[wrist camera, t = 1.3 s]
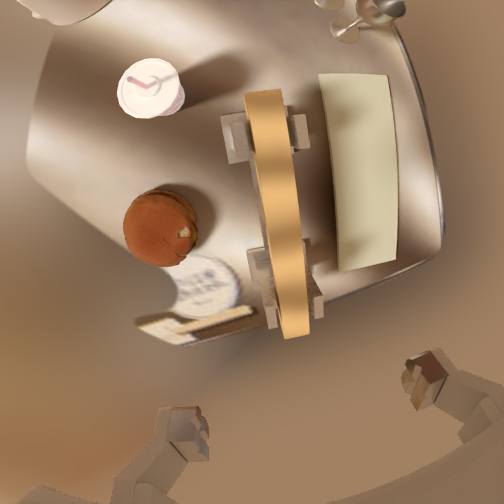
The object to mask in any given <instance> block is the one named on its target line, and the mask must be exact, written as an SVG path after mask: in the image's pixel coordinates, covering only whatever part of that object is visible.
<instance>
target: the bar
mask: <svg viewBox="0 0 504 504" xmlns="http://www.w3.org/2000/svg"><path fill="white" fill-rule="evenodd" d="M243 99H244V104H245V109H246V115H247V121H248V126H249V132H250V137H251V143H252V149H253V155H254V160H255V166H256V172H257V178H258V184H259V190H260V196H261V202H262V208H263V214H264V220H265V226H266V233H267V239H268V245H269V252H270V258H271V265H272V271H273V278H274V284H275V291H276V298H277V304H278V311H279V318H280V324H281V328H282V332H283V335H284V339H288V338H293V337H298V336H302V335H307V334H309V333H310V332H309V316H308V301H307V288H306V276H305V264H304V254H303V243H302V234H301V224H300V216H299V207H298V199H297V191H296V183H295V175H294V168H293V161H292V154H291V147H290V141H289V134H288V128H287V122H286V115H285V110H284V104H283V98H282V92H281V89H273V90H264V91H257V92H249V93H245V95H244V97H243Z"/></svg>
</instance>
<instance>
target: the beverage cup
mask: <svg viewBox="0 0 504 504" xmlns="http://www.w3.org/2000/svg"><path fill="white" fill-rule="evenodd" d="M117 96H118V100H119V104H120V106H121V107H122V108H123V110H124V111H125V112H126V113H127V114H129V115H131V116H133V117H135V118H152V117H155V116H162V115H170V114H173V113H175V112H176V111H178V110H179V109H180V108H181V106H182V105H183V103H184V98H185V94H184V89H183V88H182V86H181V84H180V81H179V76H178V73H177V72H176V70H175V69H174V68H173V67H172V65H171V64H170V63H168V62H166V61H163V60H161V59H145V60H142V61H139V62H137V63H135V64H134V65H132V66H131V67H130V68H129V69H127V70H126V71H125V73H124V75H123V76H122V78H121V80H120V81H119V85H118V91H117Z"/></svg>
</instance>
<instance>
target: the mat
mask: <svg viewBox="0 0 504 504" xmlns="http://www.w3.org/2000/svg"><path fill="white" fill-rule="evenodd" d="M318 77H319V83H320V88H321V94H322V100H323V106H324V113H325V119H326V126H327V134H328V141H329V149H330V158H331V167H332V177H333V188H334V200H335V215H336V232H337V256H338V271H339V272H344V271H349V270H353V269H357V268H362V267H366V266H370V265H374V264H378V263H383V262H387V261H391V260H395V259H396V247H397V226H398V176H397V155H396V141H395V130H394V121H393V112H392V104H391V97H390V91H389V85H388V79H387V75H372V74H319V75H318Z"/></svg>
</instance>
